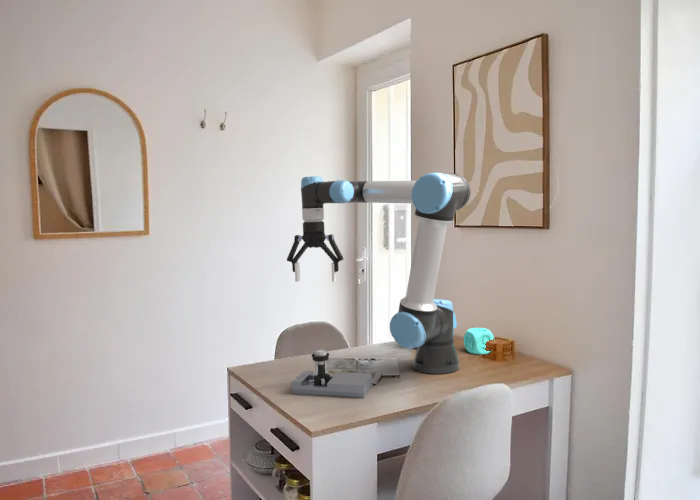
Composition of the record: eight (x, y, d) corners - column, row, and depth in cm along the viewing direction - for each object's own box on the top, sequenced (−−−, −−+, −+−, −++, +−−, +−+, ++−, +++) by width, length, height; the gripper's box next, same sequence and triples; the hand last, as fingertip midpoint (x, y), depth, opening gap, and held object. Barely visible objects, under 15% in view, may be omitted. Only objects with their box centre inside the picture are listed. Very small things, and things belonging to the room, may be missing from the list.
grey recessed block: (372, 385, 170) (372, 373, 170) (364, 398, 159) (363, 385, 159) (304, 382, 176) (304, 370, 176) (292, 393, 165) (291, 381, 165)
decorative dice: (481, 347, 209) (481, 326, 208) (494, 352, 202) (494, 330, 201) (463, 350, 206) (463, 329, 205) (476, 355, 199) (476, 333, 198)
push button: (312, 388, 165) (311, 355, 164) (306, 383, 170) (304, 351, 169) (333, 384, 168) (331, 351, 167) (326, 379, 173) (324, 348, 172)
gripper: (350, 219, 195) (352, 279, 197) (284, 221, 202) (286, 279, 204) (344, 220, 188) (347, 282, 190) (276, 222, 195) (278, 282, 197)
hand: (315, 281), depth 197 cm, fingers open, 13 cm apart
